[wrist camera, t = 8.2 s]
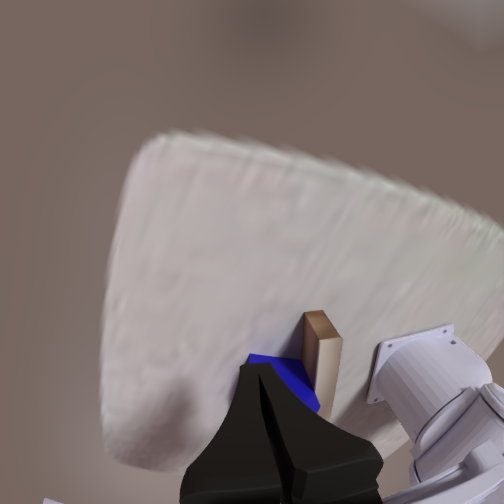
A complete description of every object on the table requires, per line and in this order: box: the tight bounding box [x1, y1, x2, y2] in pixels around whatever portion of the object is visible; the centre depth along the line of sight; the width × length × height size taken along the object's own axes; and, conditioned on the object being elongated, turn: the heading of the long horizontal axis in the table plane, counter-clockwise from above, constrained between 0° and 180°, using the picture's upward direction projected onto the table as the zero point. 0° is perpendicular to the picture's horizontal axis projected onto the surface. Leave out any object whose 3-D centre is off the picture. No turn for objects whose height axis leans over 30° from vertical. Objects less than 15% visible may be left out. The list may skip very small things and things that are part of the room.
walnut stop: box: [302, 310, 343, 422], centre depth 23 cm, size 2×16×4 cm, turn 3°
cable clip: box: [247, 354, 321, 413], centre depth 22 cm, size 12×4×6 cm, turn 166°
